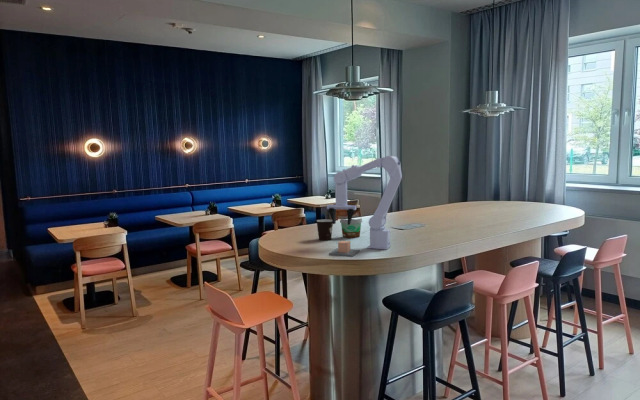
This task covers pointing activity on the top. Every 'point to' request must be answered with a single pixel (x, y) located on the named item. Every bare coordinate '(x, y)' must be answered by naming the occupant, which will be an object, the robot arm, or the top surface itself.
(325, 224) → the coffee mug
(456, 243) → the top surface
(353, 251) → the mat
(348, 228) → the food container
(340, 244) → the cube
